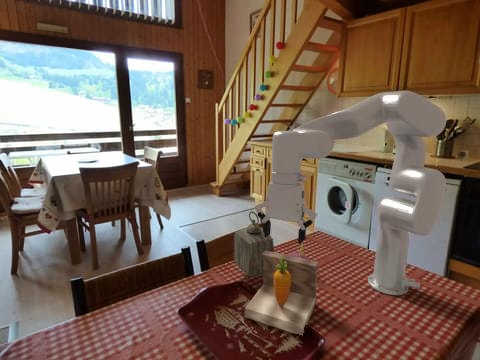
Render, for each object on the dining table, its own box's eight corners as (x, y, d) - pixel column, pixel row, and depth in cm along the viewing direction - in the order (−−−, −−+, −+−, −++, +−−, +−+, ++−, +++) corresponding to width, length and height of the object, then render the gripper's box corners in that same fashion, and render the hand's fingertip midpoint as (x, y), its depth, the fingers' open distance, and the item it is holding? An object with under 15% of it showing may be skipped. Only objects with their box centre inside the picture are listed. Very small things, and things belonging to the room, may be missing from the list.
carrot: (289, 313, 84) (291, 265, 81) (272, 311, 85) (273, 263, 82) (289, 302, 89) (291, 256, 86) (273, 301, 90) (274, 255, 86)
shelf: (315, 304, 93) (318, 261, 90) (302, 336, 80) (305, 286, 77) (264, 289, 101) (265, 249, 98) (245, 317, 87) (245, 271, 84)
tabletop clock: (273, 285, 104) (275, 216, 98) (249, 291, 100) (250, 220, 95) (253, 266, 116) (254, 204, 111) (232, 271, 113) (232, 207, 107)
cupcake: (311, 269, 114) (312, 240, 112) (303, 279, 107) (304, 248, 105) (290, 263, 119) (291, 235, 116) (281, 272, 112) (282, 242, 109)
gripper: (321, 178, 78) (318, 239, 82) (260, 172, 86) (260, 228, 90) (315, 184, 72) (311, 250, 76) (250, 177, 79) (249, 237, 83)
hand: (283, 238), depth 83 cm, fingers open, 9 cm apart
